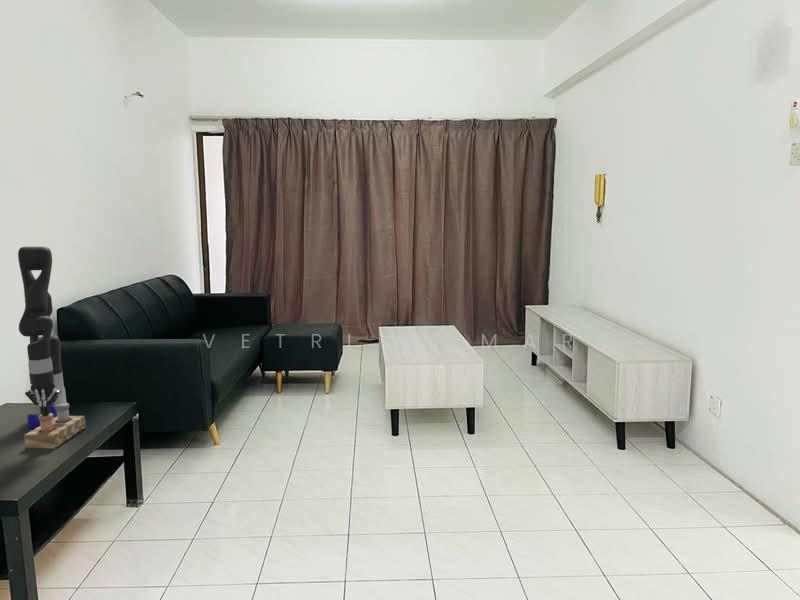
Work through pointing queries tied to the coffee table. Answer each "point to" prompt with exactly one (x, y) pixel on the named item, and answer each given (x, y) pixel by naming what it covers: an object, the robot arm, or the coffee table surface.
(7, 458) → the coffee table surface
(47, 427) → the terracotta plunger
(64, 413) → the grey plunger
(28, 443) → the oak board
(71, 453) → the coffee table surface
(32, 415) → the cable clip
